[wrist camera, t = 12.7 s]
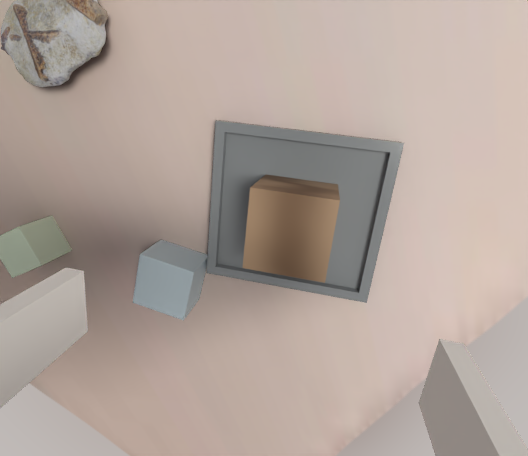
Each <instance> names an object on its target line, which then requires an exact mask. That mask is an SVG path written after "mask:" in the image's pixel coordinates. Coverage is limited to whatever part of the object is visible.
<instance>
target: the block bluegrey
mask: <svg viewBox="0 0 528 456" xmlns="http://www.w3.org/2000/svg"><path fill="white" fill-rule="evenodd" d="M207 258H208V255H207V254H204V253H201V252H198V251H194V250H191V249H188V248H185V247H182V246H179V245H176V244H173V243H170V242H167V241H164V240H160V241H158V242H157V243H155V244H154V245H152V246H151V247H149V248H148V249H147V250H145V251H144V252H142V253H141V254H140V258H139V264H138V271H137V277H136V284H135V291H134V297H133V303H136V304H138V305H141V306H144V307H147V308H150V309H153V310H156V311H158V312H161V313H164V314H167V315H170V316H173V317H175V318H178V319H181V320H184V319H185V318H186V317H187V315H188V314H189V312H190V311H191V310H192V308H193V307H194V306H195V304H196V303H197V302H198V300H199V298H200V294H201V289H202V285H203V281H204V276H205V272H206V268H207Z"/></svg>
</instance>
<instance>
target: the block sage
mask: <svg viewBox="0 0 528 456" xmlns="http://www.w3.org/2000/svg"><path fill="white" fill-rule="evenodd" d="M70 251H72V249H71V247H70V245H69V244H68V242H67V240H66V238H65V237H64V235H63V233H62V232H61V230H60V228H59V226H58V225H57V223H56V221H55V220H54V218H53V216H49V217H46V218H43V219H40V220H37V221H34V222H31V223H28V224H25V225H22V226H19V227H17V228H15V229H13V230H11V231H9V232H6V233H4V234H2V235H0V259H1V261H2V262H3V264H4V266H5V267H6V269H7V270H8V272H9V274H10V275H11V277H12V278H13V277H16V276H18V275H20V274H23V273H25V272H27V271H30V270H32V269H35V268H37V267H39V266H42V265H44V264H46V263H48V262H50V261H52V260H54V259H56V258H58V257H60V256H62V255H64V254H66V253H68V252H70Z"/></svg>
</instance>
